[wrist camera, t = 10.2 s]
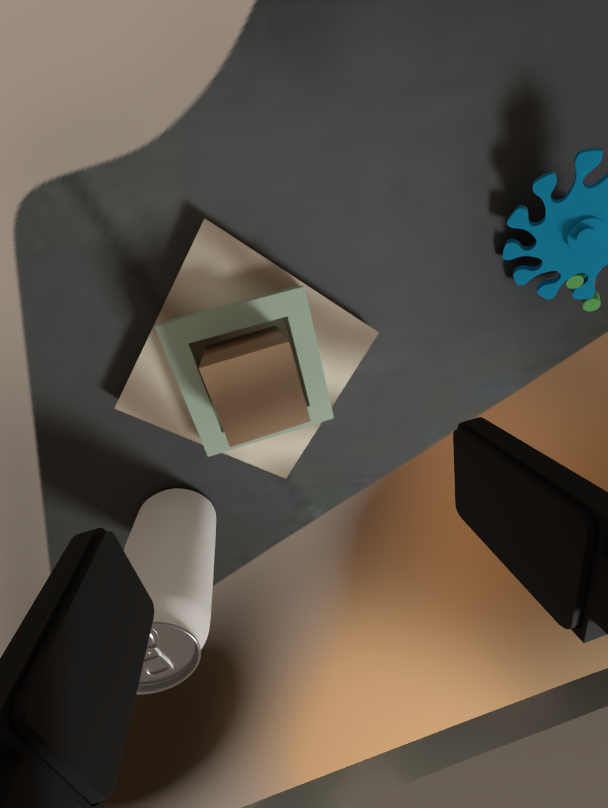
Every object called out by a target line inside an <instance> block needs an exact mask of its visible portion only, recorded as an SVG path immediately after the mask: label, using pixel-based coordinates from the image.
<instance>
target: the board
mask: <svg viewBox="0 0 608 808" xmlns="http://www.w3.org/2000/svg"><path fill="white" fill-rule="evenodd" d="M298 285H300V286H305V290H306V295H307V299H308V304H309V308H310V313H311V317H312V322H313V326H314V331H315V335H316V340H317V344H318V349H319V353H320V358H321V362H322V367H323V371H324V376H325V380H326V385H327V389H328V394H329V398H330V403H331V407H332V406H333V404H334V402H335V401H336V399H337V398H338V396H339V395H340V393H341V391H342V390H343V388H344V387H345V385H346V384H347V382H348V380H349V379H350V377H351V376H352V374H353V373H354V371H355V369H356V368H357V366H358V365H359V363H360V362H361V360H362V359H363V357H364V355H365V354H366V352H367V351H368V349H369V348H370V346H371V344H372V343H373V341H374V340H375V338H376V337H377V335H378V333H379V332H377V331H376V330H374V329H373V328H371V327H370V326H368V325H367V324H365V323H364V322H362V321H360V320H359V319H357V318H356V317H354V316H353V315H351V314H350V313H348V312H347V311H345V310H344V309H342V308H341V307H339V306H338V305H336V304H335V303H333V302H332V301H330V300H328V299H327V298H325V297H324V296H322V295H321V294H319V293H318V292H316V291H315V290H313V289H312V288H310V287H309V286H307V285H306V284H304V283H303V282H301V281H299V280H298V279H296V278H295V277H293V276H292V275H290V274H289V273H287V272H286V271H284V270H283V269H281V268H280V267H278V266H277V265H275V264H274V263H272V262H270V261H269V260H267V259H266V258H264V257H263V256H261V255H260V254H258V253H257V252H255V251H254V250H252V249H251V248H249V247H248V246H246V245H245V244H243V243H242V242H240V241H238V240H237V239H235V238H234V237H232V236H231V235H229V234H228V233H226V232H225V231H223V230H222V229H220V228H219V227H217V226H216V225H214V224H213V223H211V222H209V221H208V220H206V219H204V221H203V223H202V225H201V227H200V229H199V231H198V233H197V235H196V238H195V240H194V242H193V244H192V246H191V248H190V250H189V252H188V254H187V257H186V259H185V261H184V263H183V265H182V267H181V269H180V271H179V273H178V276H177V278H176V280H175V282H174V284H173V286H172V288H171V290H170V292H169V295H168V297H167V299H166V301H165V303H164V305H163V307H162V309H161V311H160V314H159V316H158V318H157V320H156V322H155V324H154V326H153V328H152V330H151V333H150V335H149V337H148V339H147V341H146V343H145V345H144V347H143V349H142V352H141V354H140V356H139V358H138V360H137V362H136V364H135V366H134V368H133V371H132V373H131V375H130V377H129V379H128V381H127V383H126V385H125V387H124V390H123V392H122V394H121V396H120V398H119V400H118V402H117V404H116V406H115V409H117V410H119V411H122V412H124V413H127V414H129V415H132V416H134V417H136V418H139V419H141V420H144V421H146V422H149V423H151V424H154V425H156V426H158V427H161V428H163V429H166V430H168V431H171V432H173V433H176V434H178V435H180V436H183V437H185V438H188V439H190V440H193V441H195V442H198V443H200V444H202V445H203V443H202V441H201V438H200V436H199V433H198V431H197V429H196V426H195V424H194V421H193V419H192V416H191V414H190V412H189V409H188V407H187V404H186V402H185V399H184V397H183V395H182V392H181V390H180V387H179V385H178V382H177V380H176V378H175V375H174V373H173V370H172V368H171V365H170V363H169V361H168V358H167V356H166V353H165V351H164V348H163V346H162V344H161V341H160V339H159V336H158V334H157V331H156V329H155V326H156V325H157V324H159V323H160V322H163V321H166V320H170V319H174V318H178V317H181V316H185V315H189V314H193V313H196V312H200V311H204V310H208V309H211V308H215V307H219V306H223V305H226V304H230V303H234V302H238V301H241V300H245V299H249V298H253V297H256V296H260V295H264V294H268V293H271V292H275V291H279V290H283V289H286V288H290V287H294V286H298ZM275 325H276V326H277V328H278V329H279V330H280V331H281V332H282V334H283V335H284V336H285V337H286V338H287V340H288V341H289V343H290V347H291V351H292V354H293V358H294V362H295V365H296V361H295V357H294V353H293V349H292V345H291V341H290V337H289V333H288V329H287V325H286V321H285V318H284V317H283V318H280V319H276V320H272V321H269V322H265V323H261V324H258V325H254V326H250V327H247V328H243V329H239V330H236V331H232V332H229V333H225V334H221V335H218V336H214V337H210V338H207V339H203V340H199V341H196V342H193V343H194V346H195V349H196V351H197V354H198V357H199V360H200V362H201V360H202V357H203V354H204V351H205V348H206V346H207V345H211V344H214V343H217V342H221V341H224V340H228V339H231V338H234V337H238V336H241V335H245V334H248V333H251V332H255V331H258V330H262V329H265V328H268V327H272V326H275ZM296 369H297V365H296ZM297 373H298V369H297ZM298 376H299V373H298ZM299 380H300V376H299ZM300 384H301V380H300ZM301 387H302V384H301ZM302 391H303V388H302ZM303 395H304V392H303ZM304 397H305V396H304ZM321 423H322V422H320V423H316V424H313V425H310V426H307V427H303V428H300V429H297V430H294V431H290V432H287V433H284V434H281V435H278V436H274V437H271V438H268V439H265V440H261V441H258V442H255V443H252V444H248V445H245V446H242V447H239V448H235V449H232V450H229V451H226V452H222V453H224V454H227V455H229V456H232V457H234V458H237V459H239V460H241V461H244V462H246V463H249V464H251V465H254V466H256V467H259V468H261V469H263V470H266V471H268V472H271V473H273V474H276V475H278V476H281V477H283V478H285V479H286V478H287V476H288V475H289V473H290V471H291V470H292V468H293V467H294V465H295V464H296V462H297V460H298V459H299V457H300V456H301V454H302V453H303V451H304V449H305V448H306V446H307V445H308V443H309V442H310V440H311V438H312V437H313V435H314V434H315V432H316V431H317V429H318V427H319V426H320V424H321Z"/></svg>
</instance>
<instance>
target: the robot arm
mask: <svg viewBox="0 0 608 808" xmlns="http://www.w3.org/2000/svg"><path fill="white" fill-rule="evenodd" d="M453 443H454V473H455V502H456V509H457V511H458V514H459V515H460V517H461V518H462V519H463V520H464V521H465V522H466V524H467V525H468V526H469V527H470V528H471V529H472V530H473V531H474V532H475V533H476V534H477V536H479V538H480V539H481V540H482V541H483V542H484V543H485V544H486V545H487V546H488V548H489V549H490V550H491V551H492V552H493V553H494V554H495V555H496V556H497V557H498V558H499V560H500V561H501V562H502V563H503V564H504V565H505V566H506V567H507V568H508V569H509V570H510V572H511V573H512V574H514V576H515V577H516V578H517V579H518V580H519V581H520V582H521V584H522V585H523V586H524V587H525V588H526V589H527V590H528V591H529V592H530V593H531V594H532V595H533V597H534V598H535V599H536V600H537V601H538V602H539V603H540V604H541V605H542V606H543V608H544V609H545V610H546V611H547V612H548V613H549V614H550V615H551V616H552V617H553V618H554V619H555V621H556V622H557V623H558V624H559V625H560V626H562V627H563V628H565V629H571V630H572V631H573V632H574V633H575V634H576V635H577V636H578V637H579V638H580V639H581V640H582V642H583V643H585V642H588V641H591V640H593V639H596V638H599V637H601V636H604V635H606V634H607V635H608V492H606V491H604V490H603V489H601V488H600V487H598V486H596V485H595V484H593V483H591V482H590V481H588V480H586V479H585V478H583V477H581V476H580V475H578V474H576V473H575V472H573V471H571V470H569V469H568V468H566V467H564V466H563V465H561V464H559V463H558V462H556V461H554V460H553V459H551V458H549V457H548V456H546V455H544V454H543V453H541V452H539V451H537V450H536V449H534V448H533V447H531V446H529V445H528V444H526V443H524V442H522V441H521V440H519V439H517V438H516V437H514V436H512V435H511V434H509V433H507V432H506V431H504V430H502V429H501V428H499V427H497V426H496V425H494V424H492V423H491V422H489V421H487V420H485V419H484V418H481V417H480V418H475V419H472V420H468V421H465V422H461V423H460V424H459V425H458V428H457V429H456V430H455V431H454V433H453ZM153 619H154V604H153V601H152V599H151V598H150V596H149V594H148V592H147V591H146V589H145V587H144V585H143V584H142V582H141V580H140V578H139V577H138V575H137V573H136V571H135V570H134V568H133V566H132V564H131V563H130V561H129V559H128V557H127V556H126V554H125V552H124V550H123V549H122V547H121V545H120V543H119V542H118V540H117V538H116V536H115V535H114V534H113V532H111V531H108V532H106V530H104V529H103V528H97V529H94V530H90V531H87V532H83V533H80V534H77V535H75V536H74V537H73V538H72V539H71V541H70V543H69V544H68V546H67V548H66V549H65V551H64V553H63V554H62V556H61V558H60V559H59V561H58V563H57V564H56V566H55V568H54V569H53V571H52V573H51V574H50V576H49V578H48V579H47V581H46V583H45V585H44V586H43V588H42V590H41V591H40V593H39V595H38V596H37V598H36V600H35V601H34V603H33V605H32V606H31V608H30V610H29V611H28V613H27V615H26V616H25V618H24V620H23V621H22V623H21V625H20V626H19V628H18V630H17V632H16V633H15V635H14V636H13V638H12V640H11V642H10V643H9V645H8V647H7V648H6V650H5V652H4V653H3V655H2V657H1V658H0V808H104V804H105V800H106V799H108V798H109V797H110V796H111V795H112V793H113V791H114V788H115V785H116V782H117V777H118V772H119V768H120V764H121V759H122V755H123V750H124V746H125V742H126V738H127V733H128V729H129V724H130V720H131V715H132V711H133V706H134V702H135V698H136V694H137V689H138V685H139V680H140V676H141V672H142V667H143V663H144V658H145V654H146V650H147V645H148V641H149V636H150V632H151V628H152V623H153ZM242 808H608V668H607V669H604V670H601V671H599V672H596V673H593V674H590V675H587V676H585V677H582V678H580V679H577V680H574V681H572V682H569V683H566V684H564V685H561V686H558V687H556V688H553V689H550V690H548V691H545V692H543V693H540V694H537V695H534V696H532V697H529V698H527V699H524V700H521V701H519V702H516V703H513V704H511V705H508V706H505V707H503V708H500V709H498V710H495V711H492V712H489V713H487V714H484V715H482V716H479V717H476V718H474V719H471V720H468V721H466V722H463V723H460V724H458V725H455V726H452V727H450V728H447V729H445V730H442V731H439V732H437V733H434V734H432V735H429V736H427V737H424V738H421V739H419V740H416V741H413V742H411V743H408V744H406V745H403V746H401V747H398V748H395V749H392V750H390V751H387V752H385V753H382V754H379V755H377V756H374V757H372V758H370V759H366V760H364V761H361V762H359V763H356V764H353V765H351V766H348V767H346V768H343V769H340V770H338V771H335V772H333V773H330V774H327V775H325V776H323V777H320V778H317V779H315V780H312V781H309V782H307V783H304V784H302V785H299V786H296V787H294V788H291V789H289V790H286V791H284V792H281V793H278V794H276V795H273V796H271V797H268V798H266V799H263V800H260V801H258V802H255V803H253V804H250V805H248V806H245V807H242Z"/></svg>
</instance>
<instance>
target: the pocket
mask: <svg viewBox="0 0 608 808" xmlns="http://www.w3.org/2000/svg"><path fill="white" fill-rule="evenodd" d="M283 317H284V318H285V321H286V325H287V329H288V333H289V337H290V341H291V345H292V349H293V353H294V357H295V361H296V365H297V369H298V373H299V376H300V380H301V384H302V388H303V392H304V396H305V397H304V398H305V402H306V406H307V409H308V413H309V417H310V420H311V421H310V422H307V423H304V424H301V425H298V426H295V427H292V428H288V429H285V430H282V431H279V432H276V433H273V434H270V435H267V436H264V437H261V438H257V439H254V440H251V441H248V442H245V443H242V444H239V445H236V446H233V447H230V446H229V443H228V441H227V438H226V436H225V433H224V431H223V428H222V426H221V423H220V421H219V418H218V416H217V413H216V411H215V408H214V406H213V403H212V401H211V398H210V396H209V393H208V391H207V388H206V385H205V383H204V380H203V378H202V375H201V373H200V370H199V366H200V363H201V362H200V360H199V357H198V354H197V351H196V349H195V346H194V343H193V342H196V341H199V340H203V339H207V338H210V337H214V336H218V335H221V334H225V333H229V332H232V331H236V330H239V329H243V328H247V327H250V326H254V325H258V324H261V323H265V322H269V321H272V320H276V319H280V318H283ZM155 329H156V331H157V334H158V336H159V339H160V341H161V344H162V346H163V348H164V351H165V353H166V356H167V358H168V361H169V363H170V365H171V368H172V370H173V373H174V375H175V378H176V380H177V382H178V385H179V387H180V390H181V392H182V395H183V397H184V399H185V402H186V404H187V407H188V409H189V412H190V414H191V416H192V419H193V421H194V424H195V426H196V429H197V431H198V433H199V436H200V438H201V441H202V443H203V446H204V448H205V450H206V453H207V455H208V457H209V456H213V455H216V454H219V453H222V452H226V451H229V450H232V449H235V448H239V447H242V446H245V445H248V444H252V443H255V442H258V441H261V440H265V439H268V438H271V437H274V436H278V435H281V434H284V433H287V432H290V431H294V430H297V429H300V428H303V427H307V426H310V425H313V424H316V423H320V422H323V421H326V420H329V419H333V418H334V416H333V412H332V407H331V403H330V398H329V394H328V389H327V385H326V380H325V376H324V371H323V367H322V362H321V358H320V353H319V349H318V344H317V340H316V335H315V331H314V326H313V322H312V317H311V313H310V308H309V304H308V299H307V295H306V290H305V286H300V285H298V286H294V287H290V288H286V289H283V290H279V291H275V292H271V293H268V294H264V295H260V296H256V297H253V298H249V299H245V300H241V301H238V302H234V303H230V304H226V305H223V306H219V307H215V308H211V309H208V310H204V311H200V312H196V313H193V314H189V315H185V316H181V317H178V318H174V319H170V320H166V321H163V322H160V323H159V324H157V325H156V326H155Z"/></svg>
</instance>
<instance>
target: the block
mask: <svg viewBox="0 0 608 808" xmlns="http://www.w3.org/2000/svg"><path fill="white" fill-rule="evenodd" d="M199 370H200V373H201V375H202V378H203V380H204V383H205V385H206V388H207V391H208V393H209V396H210V398H211V401H212V403H213V406H214V408H215V411H216V413H217V416H218V418H219V421H220V423H221V426H222V428H223V431H224V433H225V436H226V438H227V441H228V443H229V446H230V447H233V446H236V445H239V444H242V443H245V442H248V441H251V440H254V439H257V438H261V437H264V436H267V435H270V434H273V433H276V432H279V431H282V430H285V429H288V428H292V427H295V426H298V425H301V424H304V423H307V422H310V421H311V420H310V417H309V413H308V409H307V406H306V402H305V398H304V395H303V391H302V387H301V384H300V380H299V376H298V373H297V369H296V365H295V362H294V358H293V354H292V351H291V347H290V343H289V341H288V340H287V338H286V337H285V336H284V335H283V334H282V332H281V331H280V330H279V329H278V328H277V326H276V325H275V326H272V327H268V328H265V329H262V330H258V331H255V332H251V333H248V334H245V335H241V336H238V337H234V338H231V339H228V340H224V341H221V342H217V343H214V344H211V345H207V346H206V348H205V351H204V354H203V357H202V360H201V363H200V366H199Z"/></svg>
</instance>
